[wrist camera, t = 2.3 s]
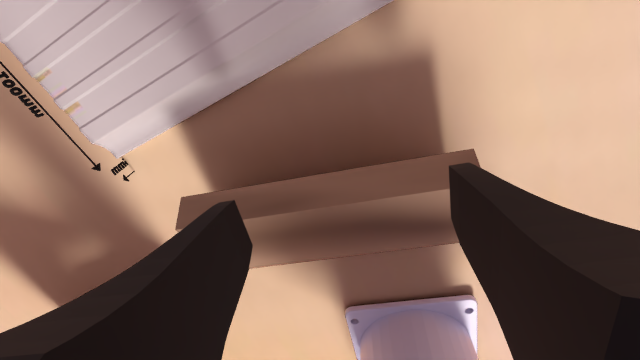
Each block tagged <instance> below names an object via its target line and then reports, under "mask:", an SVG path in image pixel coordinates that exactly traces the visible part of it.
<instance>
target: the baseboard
mask: <svg viewBox="0 0 640 360" xmlns="http://www.w3.org/2000/svg"><path fill="white" fill-rule="evenodd" d="M392 1H394V0H0V42H1V43H3V44H5V45H6V46H7V48H8V49H9V50H10V51H11V52H12V53H13V54H14V55H15V56H16V58H17V59H18V60H19V61H20V62H21V63H22V64H23V68H24V69H25V70H26V71H27V72H28V73H29V74H30V75H31V77H33V78H35V79H36V80H37V81H38V82H39V83H40V84H41V85H42V87H43V88H44V89H45V90H46V91H47V92H48V93H49V94H50V96H51V97H52V98H53V99H54V102H55V103H56V104H57V105H58V107H59V108H60V109H62V110H64V111H65V112H66V113H67V114H68V116H69V117H70V118H71V119H72V120H73V121H74V122H75V123H76V125H77V126H78V127H79V129H80V131H81V132H82V133H83V134H84V136H85V137H86V138H87V139H88V140H89V141H90V142H91V143H92V144H96V145H99V146H102V147H104V148H106V149H107V150H109V151H110V152H111V153H112V154H113V155H114V156H115V157H116V158H117V159H118V158H119V157H121V156H123V155H125V154H126V153H128V152H130V151H132V150H133V149H135V148H137V147H139V146H140V145H142V144H144V143H146V142H147V141H149V140H151V139H153V138H154V137H156V136H158V135H160V134H161V133H163V132H165V131H167V130H168V129H170V128H172V127H174V126H175V125H177V124H179V123H181V122H182V121H184V120H186V119H188V118H189V117H191V116H193V115H195V114H196V113H198V112H200V111H202V110H203V109H205V108H207V107H208V106H210V105H212V104H214V103H215V102H217V101H219V100H221V99H222V98H224V97H226V96H228V95H229V94H231V93H233V92H235V91H236V90H238V89H240V88H242V87H243V86H245V85H247V84H249V83H250V82H252V81H254V80H256V79H257V78H259V77H261V76H263V75H264V74H266V73H268V72H270V71H271V70H273V69H275V68H277V67H278V66H280V65H282V64H284V63H285V62H287V61H289V60H291V59H292V58H294V57H296V56H298V55H299V54H301V53H303V52H305V51H306V50H308V49H310V48H312V47H313V46H315V45H317V44H319V43H320V42H322V41H324V40H326V39H327V38H329V37H331V36H332V35H334V34H336V33H338V32H339V31H341V30H343V29H345V28H346V27H348V26H350V25H352V24H353V23H355V22H357V21H359V20H360V19H362V18H364V17H366V16H367V15H369V14H371V13H373V12H374V11H376V10H378V9H380V8H381V7H383V6H385V5H387V4H388V3H390V2H392ZM0 64H1V65H2V66H3V67H4V68H5V69H6V70H7V71H8V73H9V74H10V75H11V76H12V77H13V78H14V79H15V80H16V81H17V82H18V83H19V84H20V86H21V87H22V88H23V89H24V90H25V91H26V92H27V93H28V94H29V95H30V96H31V97H32V99H33V100H34V101H35V102H36V103H37V104H38V105H39V106H40V107H41V108H42V109H43V110H44V112H45V113H46V114H47V115H48V116H49V117H50V118H51V119H52V120H53V121H54V122H55V123H56V125H57V126H58V127H59V128H60V129H61V130H62V131H63V132H64V133H65V134H66V135H67V136H68V137H69V139H70V140H71V141H72V142H73V143H74V144H75V145H76V146H77V147H78V148H79V149H80V150H81V152H82V153H83V154H84V155H85V156H86V157H87V158H88V159H89V160H90V161H91V162H92V163H93V165H94V166H95V167H93V168H92V169H94V170H98V171H101V168H100V163H99V164H97V165H95V163H94V162H93V161H92V160H91V159H90V158H89V157H88V156H87V155H86V154H85V153H84V151H83V150H82V149H81V148H80V147H79V146H78V145H77V144H76V143H75V142H74V141H73V140H72V138H71V137H70V136H69V135H68V134H67V133H66V132H65V131H64V130H63V129H62V128H61V127H60V125H59V124H58V123H57V122H56V121H55V120H54V119H53V118H52V117H51V116H50V115H49V113H48V112H47V111H46V110H45V109H44V108H43V107H42V106H41V105H40V104H39V103H38V102H37V100H36V99H35V98H34V97H33V96H32V95H31V94H30V93H29V92H28V91H27V90H26V88H25V87H24V86H23V85H22V84H21V83H20V82H19V81H18V80H17V79H16V78H15V77H14V75H13V74H12V73H11V72H10V71H9V70H8V69H7V68H6V67H5V66H4V65H3V64H2V62H1V61H0ZM1 73H2V74H0V78H2V77H6V78H9V76H8V75H7V74H6V73H5V72H4V71H3V72H1ZM6 83H11V84H10V85H8V84H6ZM2 84H3V85H4V86H5V87H7V88H12V87H14V86H15V82H14V81H12V80H10V79H7V80H4V81H3V82H2ZM15 90H18V91H19V92H14V91H15ZM10 92H11V94H13V95H15V96H18V95H20V94H22V93H23V92H22V90H21V89H20V88H18V87H14V88H12V89H10ZM25 97H27V96H26V94H25V95H21V96H19V97H18V98H19V99H21V101H22V102H24V104H25V106H31V105H34V103H33V102H31V103H27V102H28V101H30V99H29V98H28V99H23V98H25ZM36 108H37V106H36V105H35V106H33V107H30V108H28V109H29V110H31V112H32V113H34V114H35V116H36V117H41V116H43V115H44V114H43V113H41V114H37V113H38V112H40V110H39V109H38V110H34V109H36ZM122 160H124V159H122ZM122 164H123V165H124V166H125V167H126V166H127V165H128V163H127V162H126V161H124V162H123V161H122V162H121V163H120V164H118V167H119V168H120V169H121V170H123V169H124V168H125V167H124V166H123V165H122ZM120 165H121V166H120ZM118 167H117V166H116V167H114V168H113V169H111V171H112V173H113V174H114V175H116V173H119V172H120V171H121V170H120V169H119V168H118ZM121 167H122V168H123V169H122V168H121ZM116 169H117V170H118V171H119V172H118V171H117V170H116ZM114 171H115V172H116V173H115V172H114ZM133 172H135V171H133ZM133 172H132V173H133ZM132 173H131V174H132ZM131 174H130V175H131ZM130 175H128V176H127V177H129V176H130ZM127 177H125V175H123V179H124V180H125V181H129V180H128V179H127Z"/></svg>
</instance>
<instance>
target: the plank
mask: <svg viewBox="0 0 640 360" xmlns="http://www.w3.org/2000/svg"><path fill="white" fill-rule="evenodd" d="M468 162H469V163H472V164H474V165H476V166H478V167H480V165H479V162H478V159H477V157H476V154H475V151H474V149H469V150H463V151H457V152H451V153H445V154H439V155H433V156H427V157H421V158H415V159H409V160H403V161H397V162H391V163H385V164H379V165H373V166H367V167H361V168H355V169H349V170H343V171H337V172H331V173H325V174H319V175H313V176H307V177H301V178H295V179H289V180H283V181H277V182H271V183H265V184H259V185H252V186H246V187H240V188H234V189H228V190H222V191H216V192H210V193H204V194H198V195H192V196H186V197H181V201H180V207H179V212H178V218H177V223H176V229H175V230H176V231H178V232H180V231H181V230H182V229H184V228H185V227H186V226H187V225H189V224H190V223H191V222H192V221H194V220H195V219H196V218H197V217H199V216H200V215H201V214H203V213H204V212H205V211H207V210H208V209H209V208H211V207H212V206H214V205H215V204H217V203H219V202H225V201H232V200H235V202H236V205H237V207H238V210H239V212H240V215H241V217H242V220H243V222H244V225H245V227H246V230H247V232H248V234H249V237H250V239H251V242H252V244H253V248H252V254H251V260H250V265H249V269H251V268H259V267H267V266H275V265H283V264H291V263H299V262H307V261H315V260H323V259H331V258H339V257H347V256H355V255H363V254H371V253H380V252H388V251H396V250H404V249H412V248H420V247H428V246H436V245H444V244H452V243H459V240H458V237H457V234H456V232H455V229H454V226H453V223H452V220H451V208H450V186H449V165H456V164H462V163H468Z"/></svg>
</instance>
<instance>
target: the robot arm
mask: <svg viewBox="0 0 640 360" xmlns="http://www.w3.org/2000/svg"><path fill="white" fill-rule="evenodd" d="M449 186H450V208H451V220H452V223H453V226H454V229H455V232H456V234H457V237H458V240H459V243H460V245H461V247H462V249H463V251H464V253H465V255H466V257H467V259H468V261H469V263H470V265H471V267H472V269H473V270H474V272H475V274H476V276H477V278H478V280H479V282H480V284H481V286H482V288H483V290H484V292H485V294H486V295H487V297H488V299H489V301H490V303H491V305H492V307H493V310H494V312H495V314H496V316H497V318H498V321H499V323H500V326H501V328H502V331H503V333H504V336H505V339H506V341H507V344H508V346H509V349H510V351H511V354H512V357H513V359H514V360H640V231H639V230H635V229H632V228H628V227H624V226H621V225H617V224H613V223H610V222H606V221H603V220H600V219H597V218H593V217H590V216H588V215H585V214H582V213H579V212H576V211H573V210H570V209H567V208H565V207H562V206H560V205H557V204H554V203H552V202H550V201H547V200H545V199H543V198H540V197H538V196H536V195H533V194H531V193H529V192H527V191H525V190H523V189H520V188H518V187H516V186H514V185H512V184H510V183H508V182H506V181H504V180H502V179H501V178H499V177H497V176H495V175H493V174H491V173H489V172H487V171H485V170H484V169H482V168H480V167H478V166H476V165H474V164H472V163H469V162H468V163H462V164H456V165H449ZM252 248H253V244H252V242H251V239H250V237H249V234H248V232H247V230H246V227H245V225H244V222H243V220H242V217H241V215H240V212H239V210H238V207H237V205H236V202H235V200H232V201H225V202H219V203H217V204H215V205H214V206H212V207H211V208H209V209H208V210H207V211H205V212H204V213H203V214H201V215H200V216H199V217H197V218H196V219H195V220H194V221H192V222H191V223H190V224H189V225H187V226H186V227H185V228H184V229H182V230H181V231H180V232H179V233H177V234H176V235H175V236H173V237H172V238H171V239H169V240H168V241H167V242H165V243H164V244H163V245H161V246H160V247H159V248H157V249H156V250H155V251H153V252H152V253H151V254H149V255H148V256H146V257H145V258H144V259H142V260H141V261H139V262H138V263H136V264H135V265H133V266H132V267H130V268H129V269H127V270H125V271H124V272H122V273H121V274H119V275H117V276H116V277H114V278H113V279H111V280H109V281H107V282H106V283H104V284H102V285H100V286H98V287H97V288H95V289H93V290H91V291H89V292H88V293H86V294H84V295H82V296H80V297H79V298H77V299H75V300H73V301H71V302H69V303H67V304H65V305H63V306H61V307H59V308H57V309H55V310H52V311H50V312H48V313H46V314H44V315H42V316H40V317H37V318H35V319H33V320H31V321H29V322H26V323H24V324H22V325H19V326H17V327H15V328H12V329H10V330H7V331H5V332H2V333H0V360H221V359H222V354H223V350H224V345H225V341H226V338H227V334H228V331H229V328H230V325H231V322H232V319H233V316H234V313H235V310H236V307H237V304H238V301H239V298H240V295H241V292H242V289H243V286H244V283H245V280H246V277H247V274H248V270H249V265H250V260H251V254H252ZM345 317H346V320H347V324H348V328H349V331H350V335H351V339H352V342H353V346H354V350H355V353H356V357H357V360H479V359H478V356H477V301H476V299H475V297H474V296H472V295H460V296H450V297H440V298H430V299H420V300H410V301H400V302H390V303H380V304H370V305H360V306H351V307H348V308H347V309H346V310H345Z"/></svg>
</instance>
